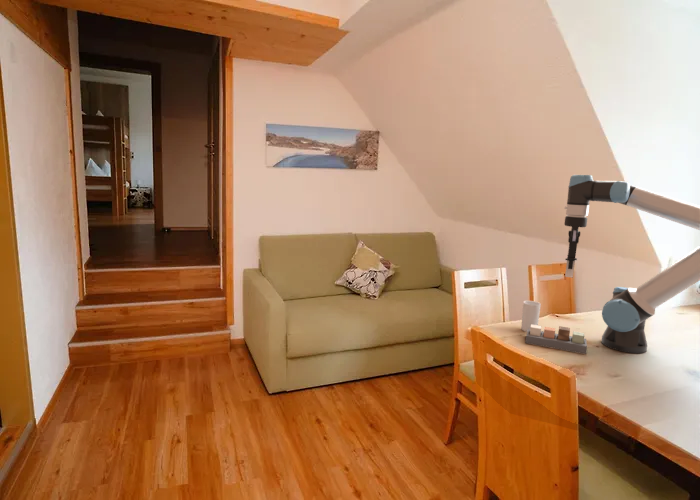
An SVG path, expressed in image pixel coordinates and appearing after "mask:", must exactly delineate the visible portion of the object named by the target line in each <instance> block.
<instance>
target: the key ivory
mask: <svg viewBox="0 0 700 500" xmlns="http://www.w3.org/2000/svg"><path fill="white" fill-rule="evenodd" d="M541 331H542V325H539V324H538V325H532V324H531V327H530V335H536V336H540V335H541Z"/></svg>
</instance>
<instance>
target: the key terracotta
mask: <svg viewBox="0 0 700 500" xmlns="http://www.w3.org/2000/svg"><path fill="white" fill-rule="evenodd" d="M543 329H544V330H543V331H544V337H547V338H553V339H554V336H555V334H556V328H555V327H550V326H544V328H543Z"/></svg>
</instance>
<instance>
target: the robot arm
mask: <svg viewBox="0 0 700 500" xmlns="http://www.w3.org/2000/svg"><path fill="white" fill-rule="evenodd" d="M567 189H568V191H567V200H566V201H567V202H566V206H564V210H565V214H566V216H565V217H564V226H566V227H569V228H570V227H571V230H568V240H567V241H568V251H567V257H566V258H565V261H566V266H565V275H564V276H565V278H574V272H575V264H576V261H578V258H576V255H577V248H578V247H577V246H578V244H579V240H580V237H581V231H579V228H586V227H587V225H588V217H587V216H589V210H590V202H601V203H603V202H604V203H614V204H621V205H623V206H627V207H631V208H634V209H636V210H639V211H642V212H646V213H647V214H650V215H654V216H657V217H660V218H663V219H666V220H669V221H671V222H675V223H678V224H681V225H684V226H686V227H689V228H691V229H692V228H693V229H695V230H698V231H700V205H697V204H694V203H691V202H687V201H685V200H681V199H678V198H674V197H671V196H669V195H665V194H661V193H658V192H654V191H651V190H648V189H646V188H642V187H640V186H636V185H631V184H630V183H629V182H628V181H622V180H594V179H593V175H591V174H572V175H571V176H570V179H569V184H568V188H567ZM699 281H700V245H699V246H697V247H696V248H694V249H693V250H692V251H690V252H689V253H687V254H686V255H683V256H682V257H681V258H679V259H678V260H676V261H675V262H674V263H672V264H671V265H669V266H668V267H666V268H664V269H663V270H662V271H660V272H659V273H657V274H655V275H653V277H651V278H649V279H648V280H647V281H645V282H644V283H641V285H639V286H637V287H625V286H616V287H614V288H613V292H612V298H611V299H610V300H609V301H607V302H605V303H604V305H603V306H602V309H601V317H602V320H603V321H604V323H605V325H606V329H605V330H604V332H603V334H602V336H601V344H602V345H603V346H606V347H608V348H610V349H613V350H616V351H620V352H624V353H631V354H643V353H646V352H647V351H648V342H647V337H646V333H645V326H646V320H648V319H650V318H651V317H652V316H654V315H656V308H658V307H659V306H661V305H664V304H665V303H666V302H668V301H669V300H670V299H673V298H674V297H675V296H677V295H678V294H680V293H682V292H684V291H685V290H687V289H689V288H690V287H691V286H694V285H695V284H697V283H699Z"/></svg>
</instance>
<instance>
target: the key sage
mask: <svg viewBox="0 0 700 500" xmlns="http://www.w3.org/2000/svg"><path fill="white" fill-rule="evenodd" d="M571 336H572V342H575V343H581V344H584V338H585V333H584V332H580V331H574V330H573V331H572V335H571Z"/></svg>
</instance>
